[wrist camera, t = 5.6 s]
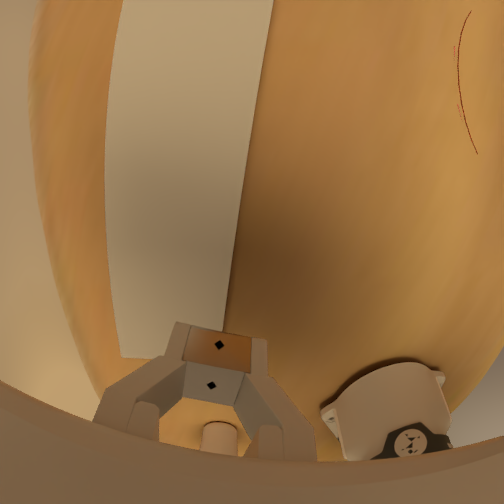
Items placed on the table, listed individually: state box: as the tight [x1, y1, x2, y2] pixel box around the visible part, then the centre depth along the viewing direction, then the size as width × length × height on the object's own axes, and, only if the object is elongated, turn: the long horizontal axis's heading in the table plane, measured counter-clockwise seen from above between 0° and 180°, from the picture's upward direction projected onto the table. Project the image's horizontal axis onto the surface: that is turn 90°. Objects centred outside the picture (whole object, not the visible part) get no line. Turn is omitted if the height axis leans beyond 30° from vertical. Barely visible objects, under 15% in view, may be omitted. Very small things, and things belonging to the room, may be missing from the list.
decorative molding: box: [105, 0, 274, 359], centre depth 24 cm, size 34×5×10 cm
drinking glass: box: [199, 422, 238, 456], centre depth 36 cm, size 7×7×15 cm
